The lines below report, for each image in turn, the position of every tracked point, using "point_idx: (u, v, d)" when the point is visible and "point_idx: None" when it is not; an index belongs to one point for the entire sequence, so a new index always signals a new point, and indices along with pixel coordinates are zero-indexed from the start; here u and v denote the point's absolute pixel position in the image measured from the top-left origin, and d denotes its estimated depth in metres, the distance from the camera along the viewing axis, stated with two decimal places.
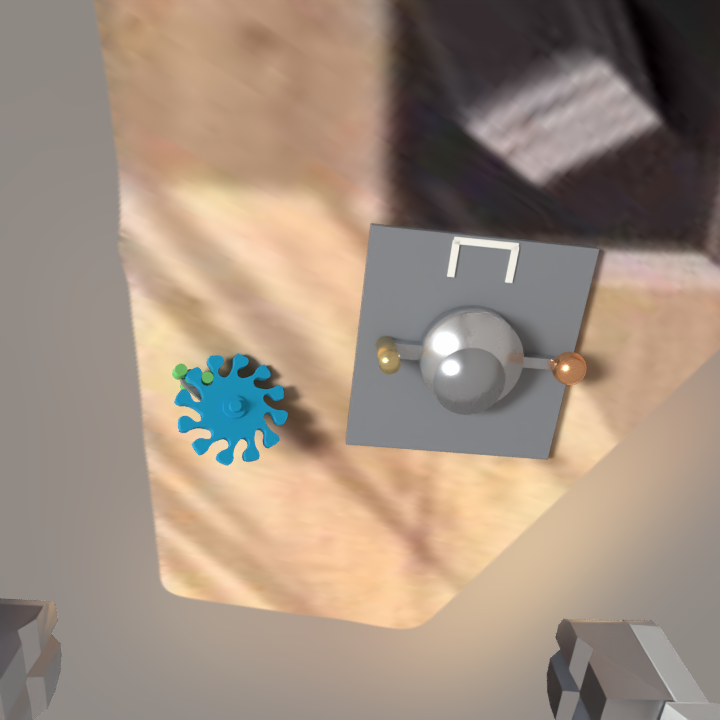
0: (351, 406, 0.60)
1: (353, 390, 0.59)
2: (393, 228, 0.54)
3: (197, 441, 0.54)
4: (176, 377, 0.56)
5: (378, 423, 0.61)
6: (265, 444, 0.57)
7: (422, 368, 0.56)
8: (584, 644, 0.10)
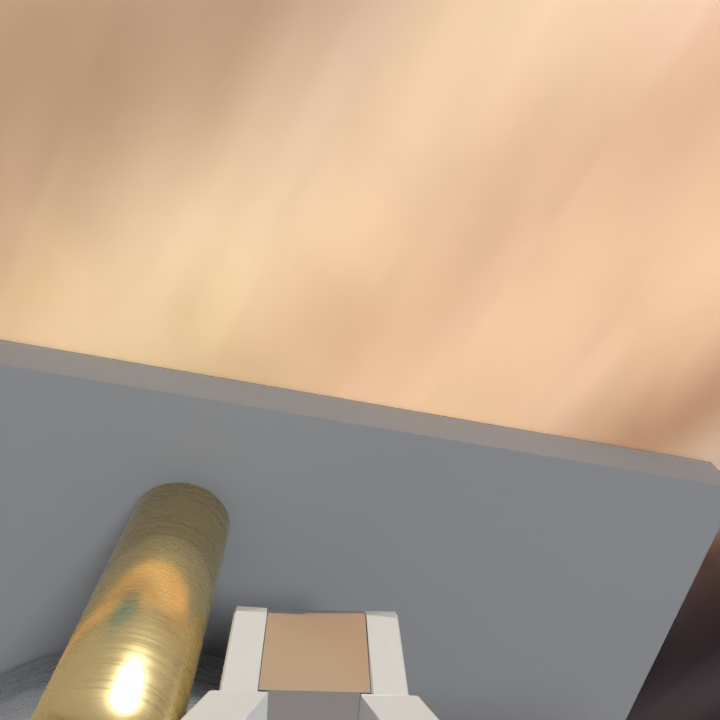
0: None
1: None
2: (696, 564, 0.13)
3: None
4: None
5: None
6: None
7: None
8: (309, 635, 0.09)
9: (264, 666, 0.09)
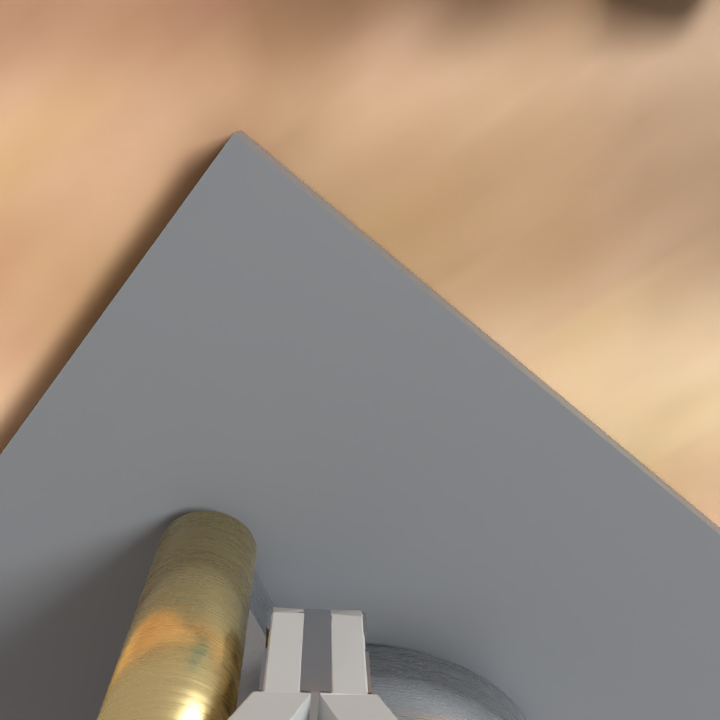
0: (427, 301, 0.11)
1: (496, 359, 0.11)
2: None
3: None
4: None
5: (258, 368, 0.11)
6: None
7: None
8: None
9: (305, 667, 0.09)
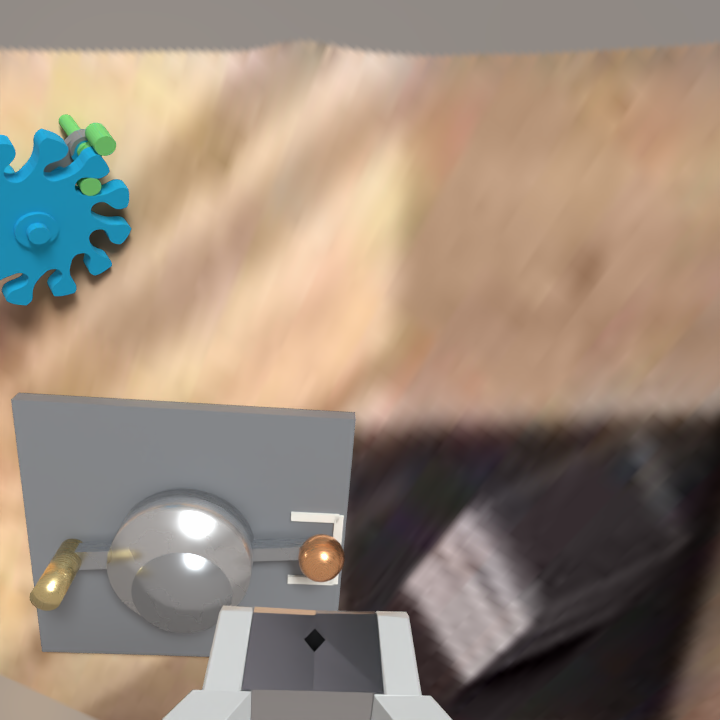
0: (79, 405, 0.39)
1: (107, 406, 0.39)
2: (351, 445, 0.41)
3: None
4: (89, 131, 0.31)
5: (58, 443, 0.40)
6: None
7: (113, 584, 0.41)
8: (321, 636, 0.09)
9: (248, 666, 0.09)
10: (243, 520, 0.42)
